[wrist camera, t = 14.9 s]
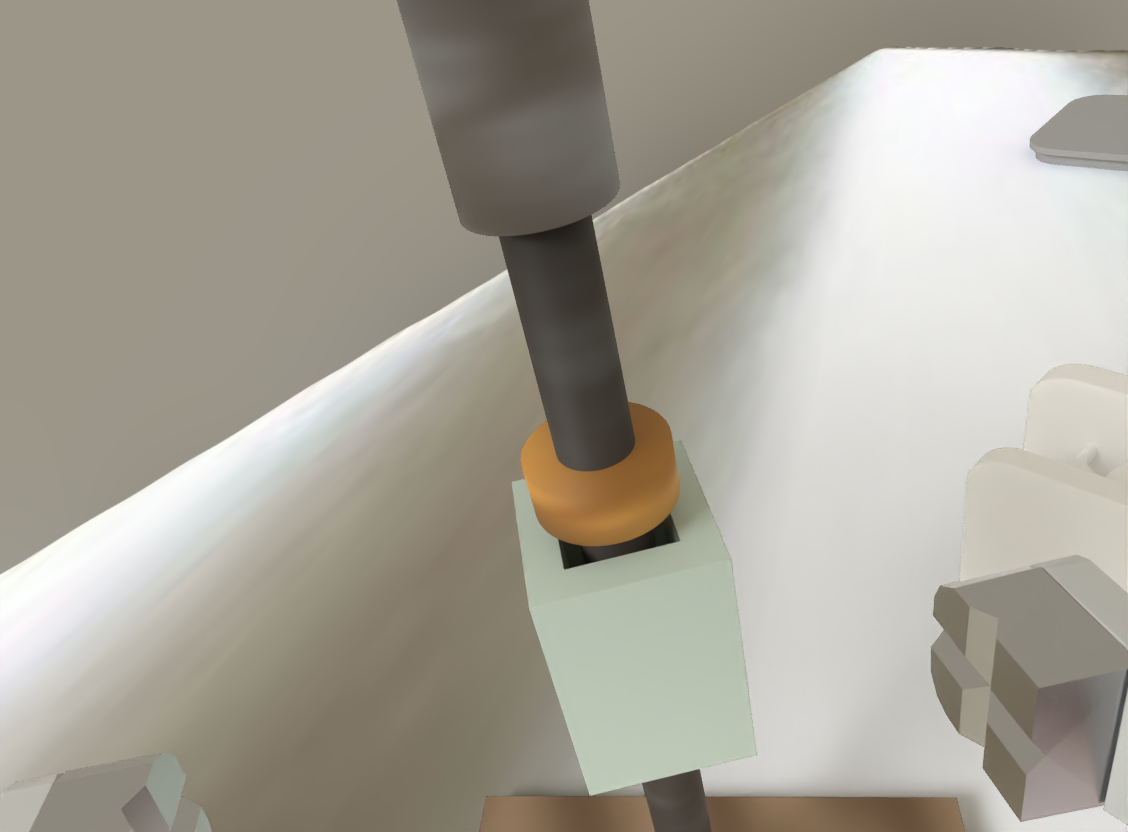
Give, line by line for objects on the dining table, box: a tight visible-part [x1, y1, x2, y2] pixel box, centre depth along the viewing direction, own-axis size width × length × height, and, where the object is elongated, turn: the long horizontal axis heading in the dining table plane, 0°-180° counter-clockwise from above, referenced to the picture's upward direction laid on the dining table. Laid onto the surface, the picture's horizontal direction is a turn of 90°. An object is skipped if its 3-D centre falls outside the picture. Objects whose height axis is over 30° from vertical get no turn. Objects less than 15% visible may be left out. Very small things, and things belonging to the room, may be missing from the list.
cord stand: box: [397, 0, 965, 832], centre depth 27 cm, size 22×13×39 cm, turn 83°
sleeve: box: [512, 440, 757, 796], centre depth 26 cm, size 5×5×8 cm
